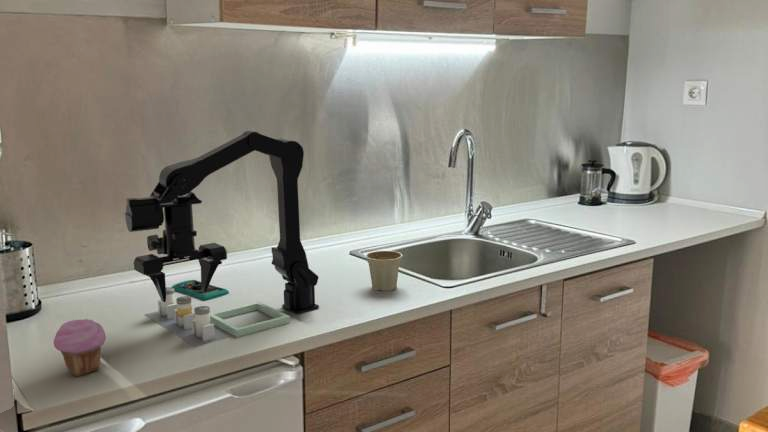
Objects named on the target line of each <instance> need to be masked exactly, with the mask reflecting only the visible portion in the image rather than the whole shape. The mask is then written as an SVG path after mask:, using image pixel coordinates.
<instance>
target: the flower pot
mask: <svg viewBox="0 0 768 432" xmlns="http://www.w3.org/2000/svg"><path fill="white" fill-rule="evenodd" d="M365 258H366V261H367V263H368V267H369V275H370V280H371V287H372V289H374V290H375V291H379V290H380V291H383V292H387V291H392V290H395V289H396V288H397V286H398V285H397V284H398V278H399V269H400V263H401V261H402V258H403V254H402V253H401V252H399V251H394V250H375V251H371V252H368V253H366V254H365Z"/></svg>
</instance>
